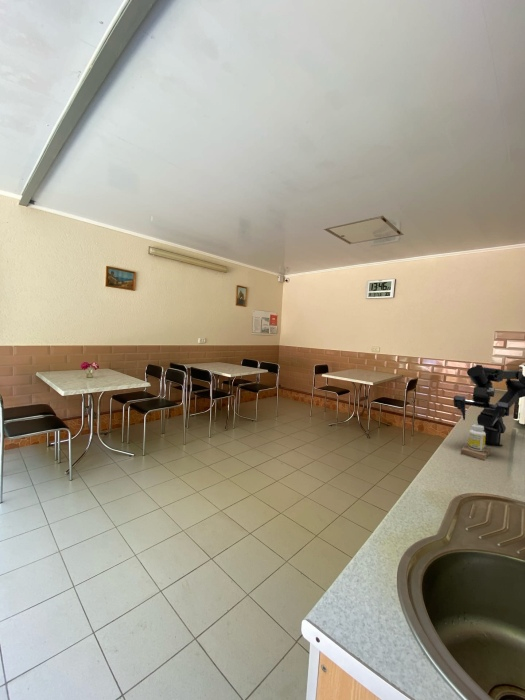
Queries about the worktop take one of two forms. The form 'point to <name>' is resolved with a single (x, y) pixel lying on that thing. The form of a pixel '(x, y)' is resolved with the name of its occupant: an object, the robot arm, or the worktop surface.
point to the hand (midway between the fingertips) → (477, 422)
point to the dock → (475, 452)
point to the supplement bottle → (477, 438)
